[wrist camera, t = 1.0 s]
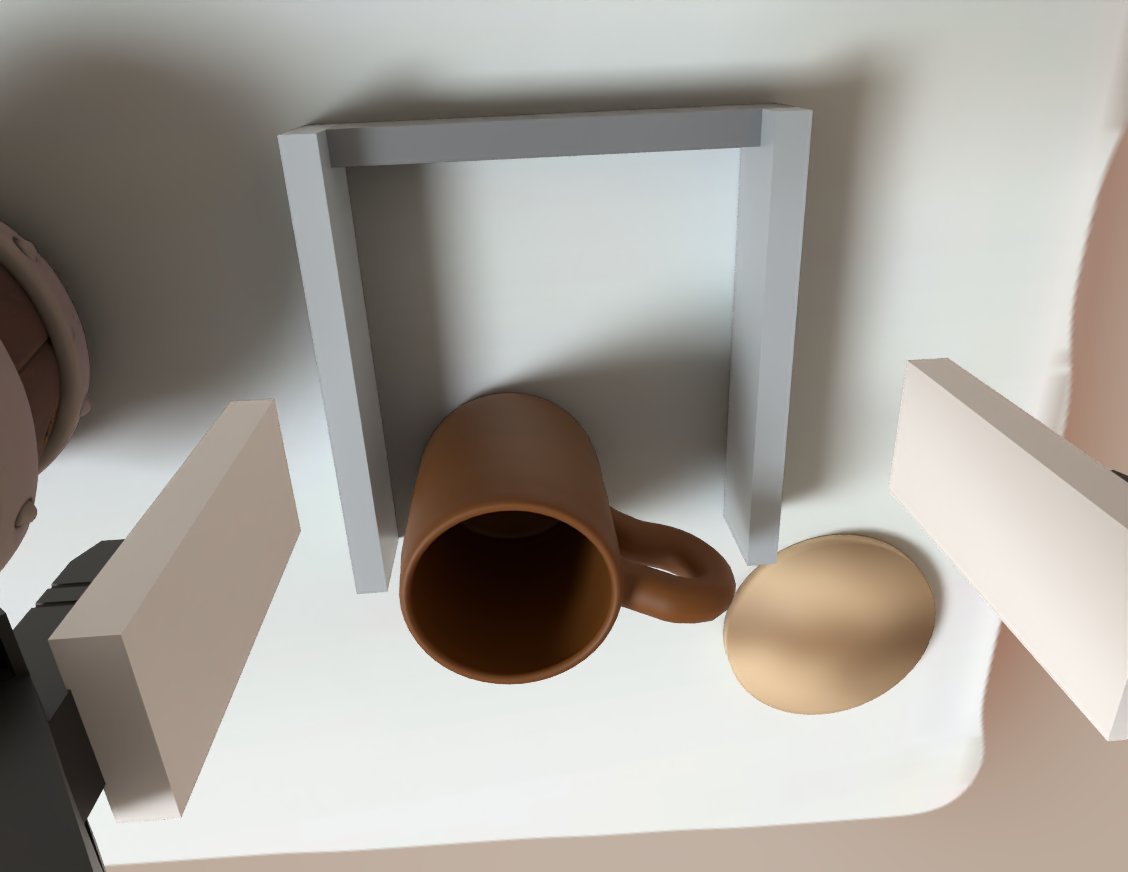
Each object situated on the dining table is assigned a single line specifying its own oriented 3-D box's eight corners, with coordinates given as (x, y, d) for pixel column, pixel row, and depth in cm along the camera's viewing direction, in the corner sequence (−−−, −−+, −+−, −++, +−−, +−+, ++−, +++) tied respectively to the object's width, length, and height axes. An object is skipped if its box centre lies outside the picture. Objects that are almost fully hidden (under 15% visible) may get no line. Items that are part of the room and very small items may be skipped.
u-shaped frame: (304, 125, 29) (277, 135, 26) (775, 103, 30) (813, 109, 27) (371, 540, 37) (356, 593, 33) (749, 514, 37) (776, 563, 34)
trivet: (727, 542, 38) (732, 551, 37) (941, 527, 38) (950, 536, 38) (719, 710, 42) (722, 722, 41) (912, 695, 43) (919, 706, 42)
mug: (714, 413, 35) (782, 528, 27) (673, 563, 38) (723, 710, 30) (430, 373, 34) (406, 482, 25) (411, 533, 37) (384, 679, 28)
